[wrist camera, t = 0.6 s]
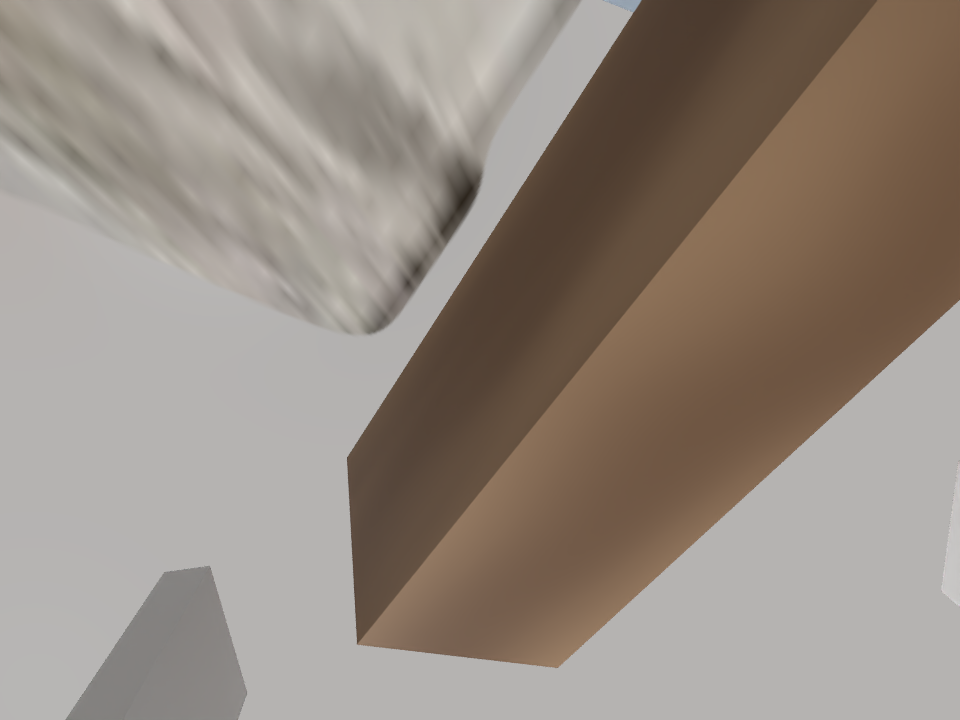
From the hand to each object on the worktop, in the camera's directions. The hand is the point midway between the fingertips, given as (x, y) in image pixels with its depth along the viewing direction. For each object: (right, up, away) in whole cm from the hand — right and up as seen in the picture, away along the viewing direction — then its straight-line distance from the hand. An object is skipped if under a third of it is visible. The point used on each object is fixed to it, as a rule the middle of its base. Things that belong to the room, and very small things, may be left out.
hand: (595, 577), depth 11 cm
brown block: (+3, +10, -4) cm, 12 cm away
